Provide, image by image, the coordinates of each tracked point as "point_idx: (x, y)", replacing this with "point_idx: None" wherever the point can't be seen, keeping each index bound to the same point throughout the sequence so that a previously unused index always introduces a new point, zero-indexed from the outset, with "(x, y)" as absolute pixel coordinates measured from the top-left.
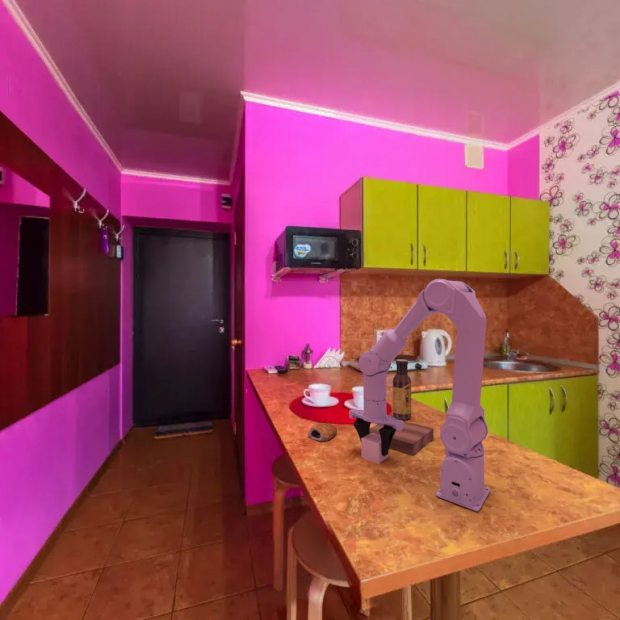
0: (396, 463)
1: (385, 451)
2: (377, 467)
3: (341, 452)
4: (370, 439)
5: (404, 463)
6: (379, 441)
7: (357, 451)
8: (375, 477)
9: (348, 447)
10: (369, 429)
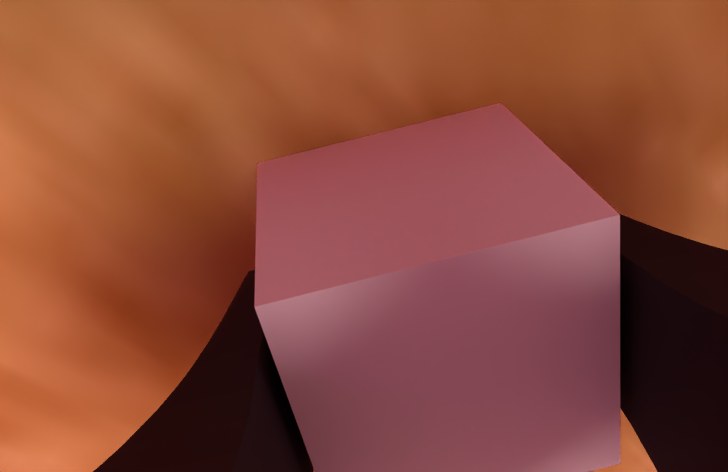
0: (651, 157)
1: None
2: None
3: (103, 437)
4: (449, 468)
5: (721, 85)
6: (587, 418)
7: (171, 303)
8: (625, 447)
9: (17, 322)
10: (254, 402)
